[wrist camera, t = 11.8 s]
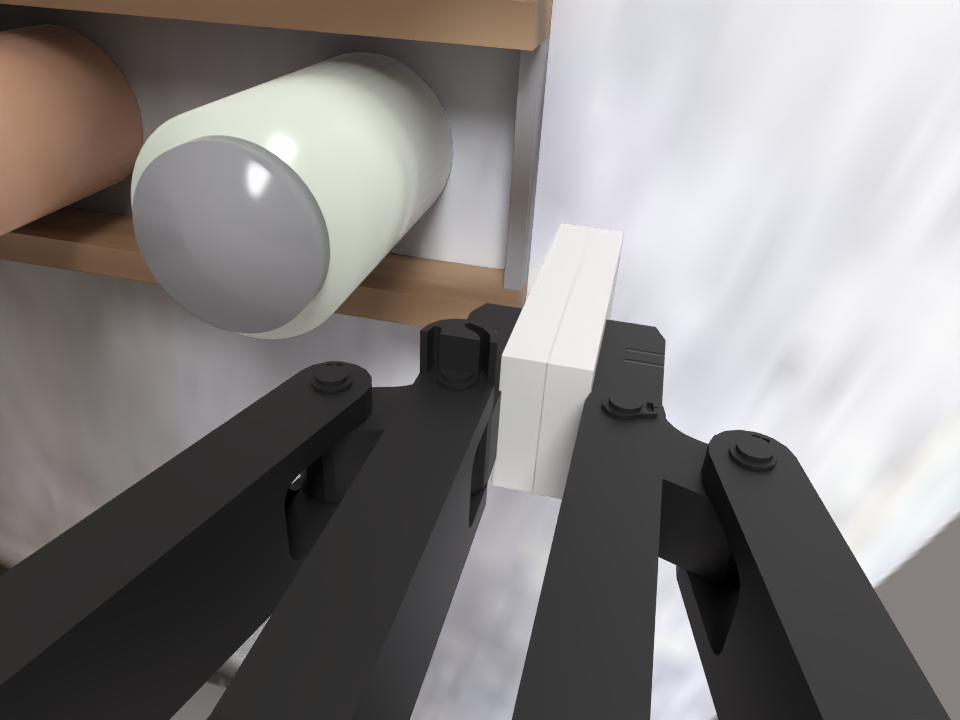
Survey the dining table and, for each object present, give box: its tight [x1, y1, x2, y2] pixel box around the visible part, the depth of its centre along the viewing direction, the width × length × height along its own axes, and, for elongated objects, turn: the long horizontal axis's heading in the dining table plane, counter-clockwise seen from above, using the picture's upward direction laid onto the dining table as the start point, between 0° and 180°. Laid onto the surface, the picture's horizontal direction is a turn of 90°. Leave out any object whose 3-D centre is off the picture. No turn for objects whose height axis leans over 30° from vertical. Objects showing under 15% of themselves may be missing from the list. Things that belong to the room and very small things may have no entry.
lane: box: [0, 0, 553, 327], centre depth 26 cm, size 10×29×3 cm, turn 87°
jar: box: [131, 52, 453, 339], centre depth 22 cm, size 6×6×10 cm
